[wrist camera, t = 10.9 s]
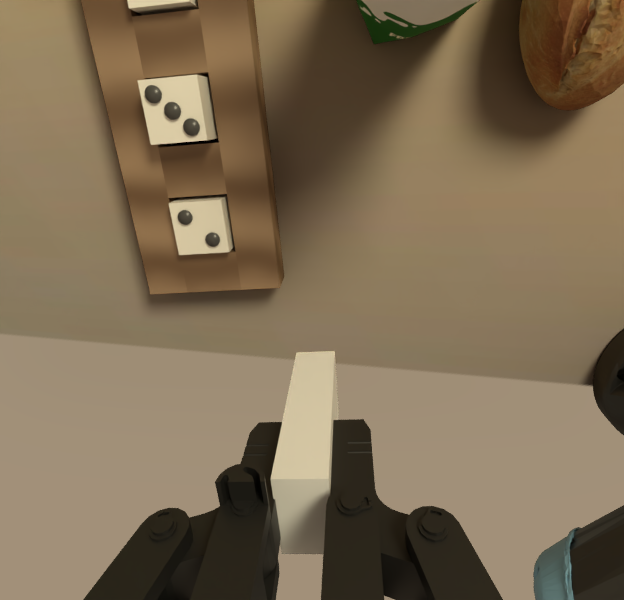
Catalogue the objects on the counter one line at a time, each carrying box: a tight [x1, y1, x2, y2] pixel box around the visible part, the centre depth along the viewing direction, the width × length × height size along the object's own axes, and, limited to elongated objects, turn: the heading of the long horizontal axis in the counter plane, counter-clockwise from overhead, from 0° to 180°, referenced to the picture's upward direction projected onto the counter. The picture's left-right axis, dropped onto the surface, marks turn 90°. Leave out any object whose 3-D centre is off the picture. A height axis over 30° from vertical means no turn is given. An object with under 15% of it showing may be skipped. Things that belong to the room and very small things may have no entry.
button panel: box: [81, 0, 284, 294], centre depth 36 cm, size 30×12×3 cm, turn 5°
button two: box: [169, 194, 235, 255], centre depth 38 cm, size 4×4×4 cm
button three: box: [137, 75, 218, 145], centre depth 34 cm, size 4×4×4 cm
